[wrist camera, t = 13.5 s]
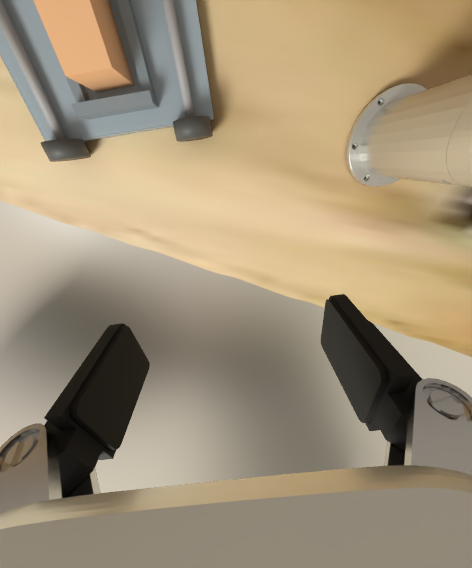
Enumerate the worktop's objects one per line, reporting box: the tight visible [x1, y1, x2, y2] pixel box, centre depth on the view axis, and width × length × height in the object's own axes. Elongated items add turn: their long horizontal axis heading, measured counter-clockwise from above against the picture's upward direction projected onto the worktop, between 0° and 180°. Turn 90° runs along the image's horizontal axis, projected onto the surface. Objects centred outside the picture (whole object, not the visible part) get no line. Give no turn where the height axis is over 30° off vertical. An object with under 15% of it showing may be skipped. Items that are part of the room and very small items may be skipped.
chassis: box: [0, 0, 214, 162], centre depth 23 cm, size 24×20×5 cm
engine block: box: [33, 0, 134, 92], centre depth 21 cm, size 5×7×6 cm
